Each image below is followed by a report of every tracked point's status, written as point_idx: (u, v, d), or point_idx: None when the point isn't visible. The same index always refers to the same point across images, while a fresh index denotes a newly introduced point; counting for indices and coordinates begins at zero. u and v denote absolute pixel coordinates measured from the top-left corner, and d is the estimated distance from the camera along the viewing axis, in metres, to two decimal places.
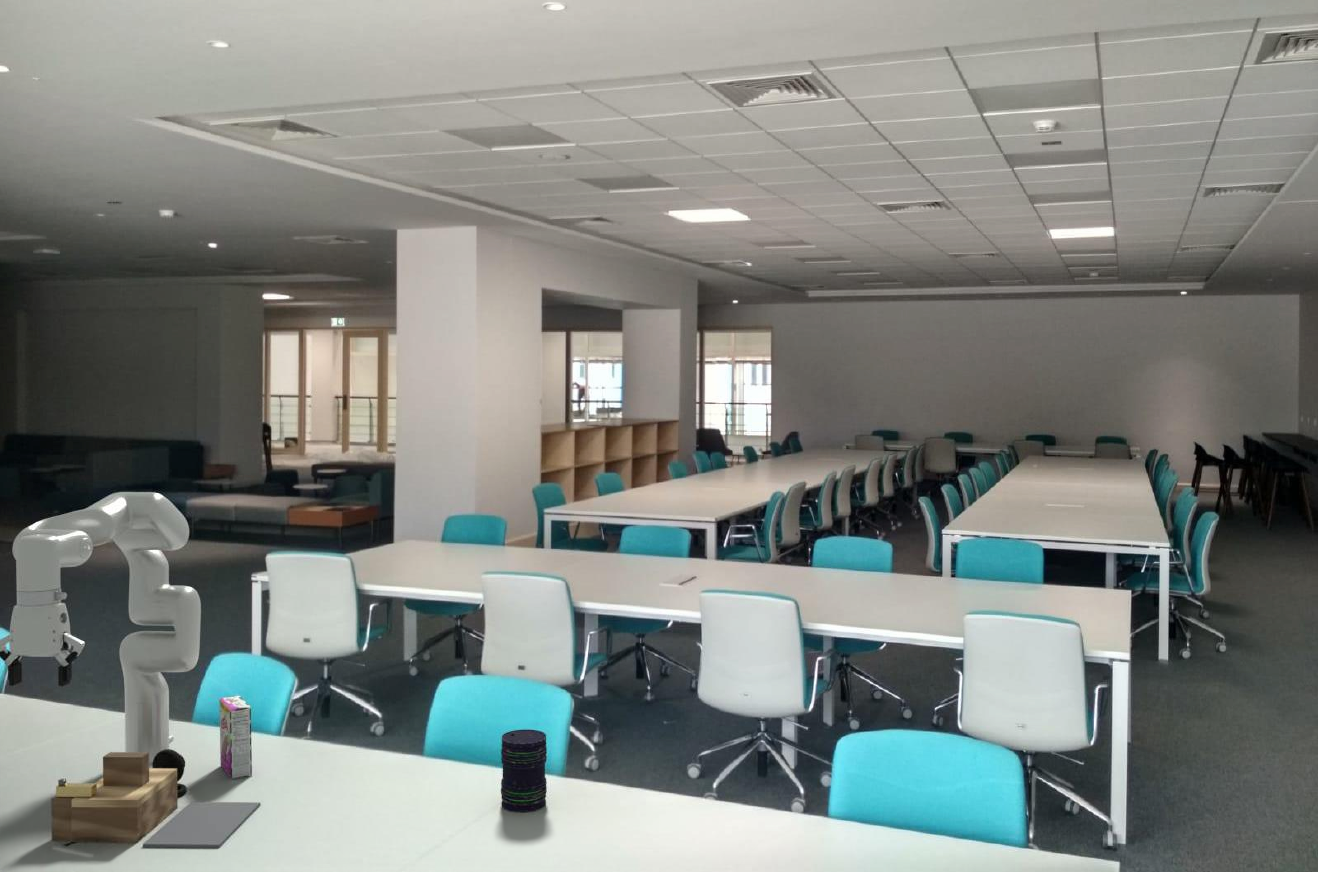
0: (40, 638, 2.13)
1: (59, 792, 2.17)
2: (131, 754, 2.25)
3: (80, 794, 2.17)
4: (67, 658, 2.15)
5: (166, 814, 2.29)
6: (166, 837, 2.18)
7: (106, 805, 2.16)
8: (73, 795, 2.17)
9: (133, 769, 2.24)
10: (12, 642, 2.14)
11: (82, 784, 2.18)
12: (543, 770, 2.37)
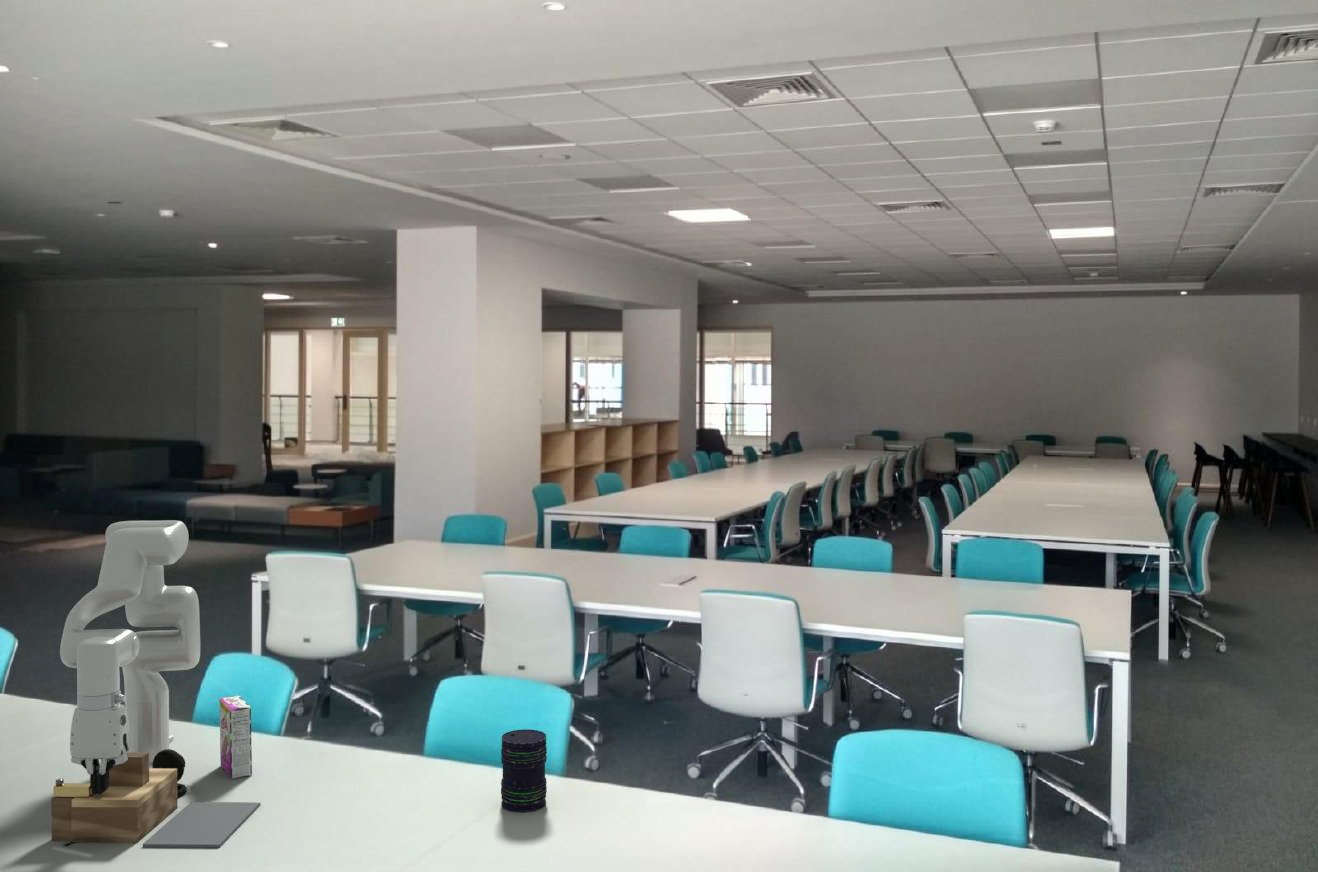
0: (100, 741, 2.15)
1: (57, 792, 2.17)
2: (131, 754, 2.25)
3: (77, 794, 2.17)
4: None
5: (166, 814, 2.29)
6: (166, 837, 2.18)
7: (106, 805, 2.16)
8: (70, 795, 2.17)
9: (133, 769, 2.24)
10: (73, 745, 2.16)
11: (79, 784, 2.18)
12: (543, 770, 2.37)
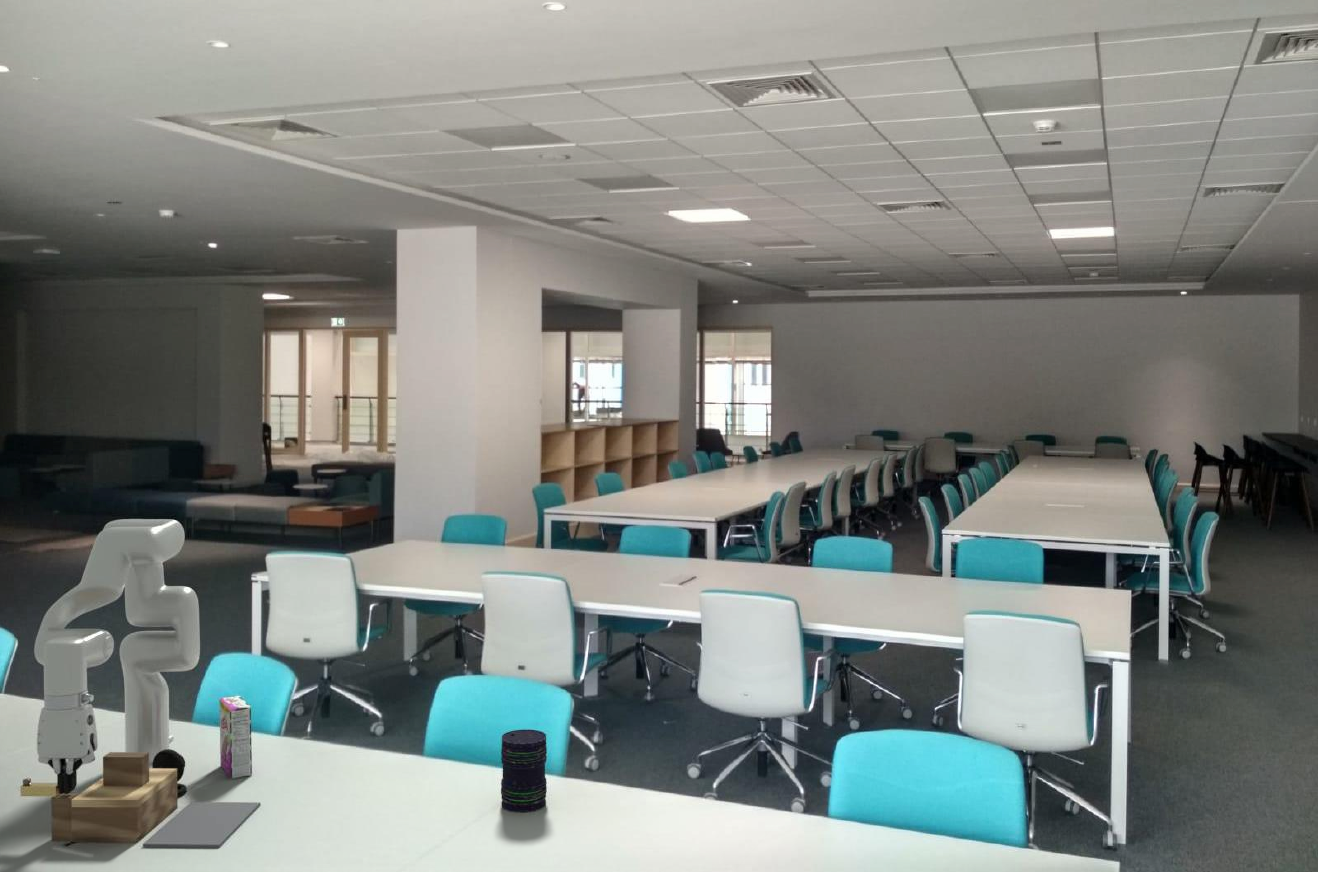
0: (67, 741, 2.15)
1: (24, 791, 2.17)
2: (131, 754, 2.25)
3: (44, 794, 2.17)
4: None
5: (166, 814, 2.29)
6: (166, 837, 2.18)
7: (106, 805, 2.16)
8: (37, 795, 2.17)
9: (133, 769, 2.24)
10: (39, 745, 2.16)
11: (47, 784, 2.18)
12: (543, 770, 2.37)
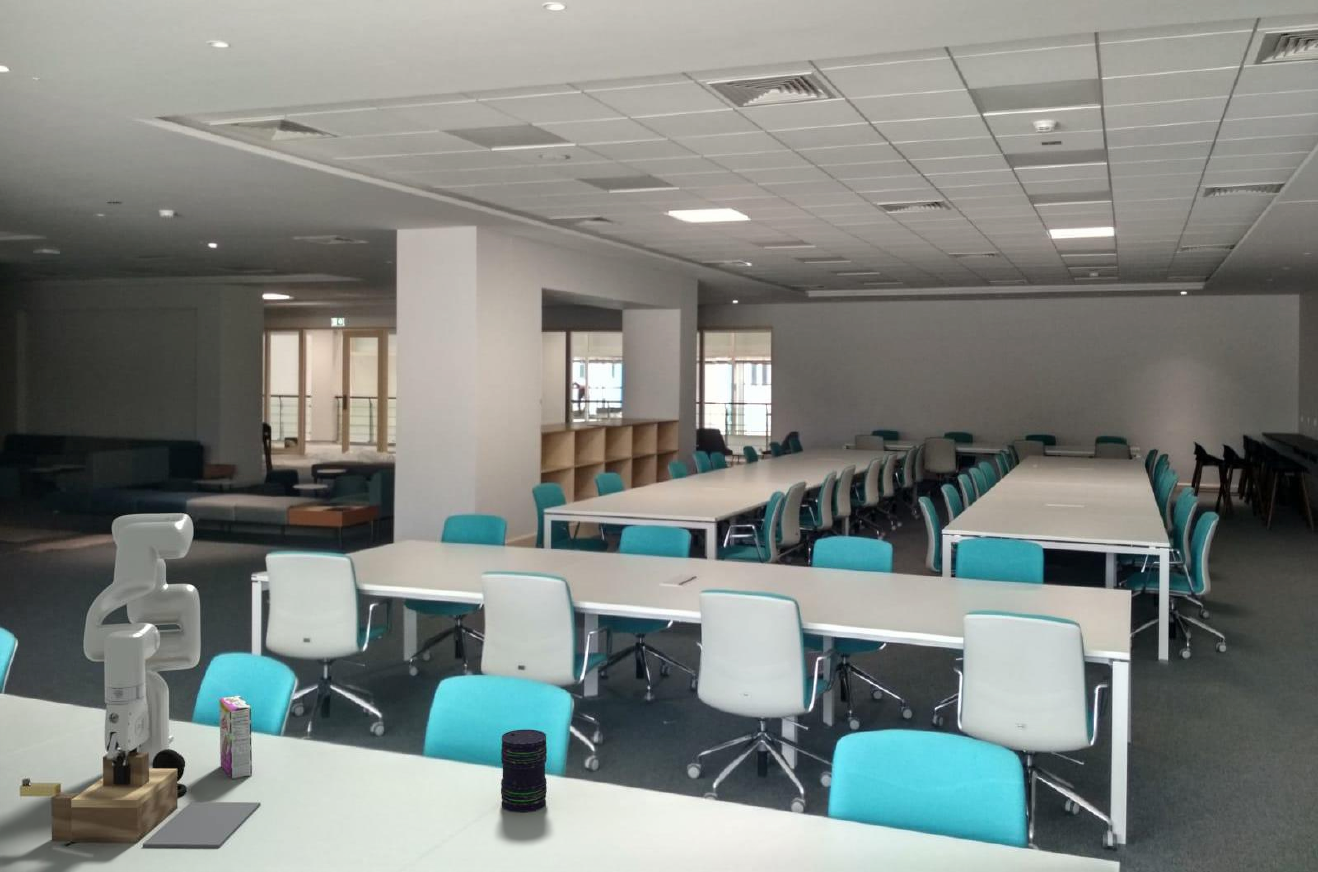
0: None
1: (23, 791, 2.17)
2: (131, 754, 2.25)
3: (43, 794, 2.17)
4: None
5: (166, 814, 2.29)
6: (166, 837, 2.18)
7: (106, 805, 2.16)
8: (37, 795, 2.17)
9: (133, 769, 2.23)
10: None
11: (46, 784, 2.18)
12: (543, 770, 2.37)
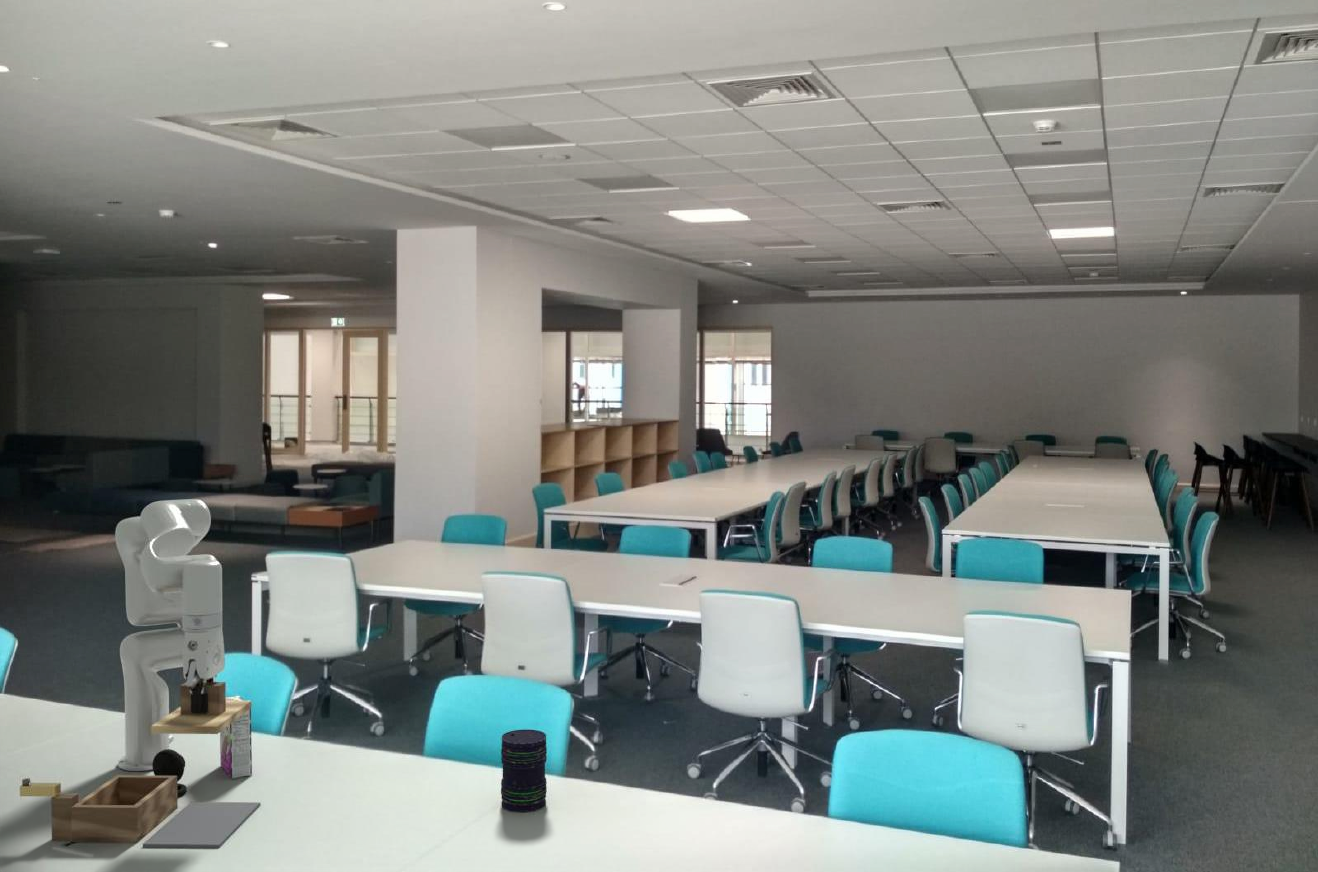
0: None
1: (23, 791, 2.17)
2: (208, 683, 2.24)
3: (43, 794, 2.17)
4: None
5: (166, 814, 2.29)
6: (166, 837, 2.18)
7: (186, 731, 2.16)
8: (37, 795, 2.17)
9: (211, 698, 2.23)
10: None
11: (46, 784, 2.18)
12: (543, 770, 2.37)
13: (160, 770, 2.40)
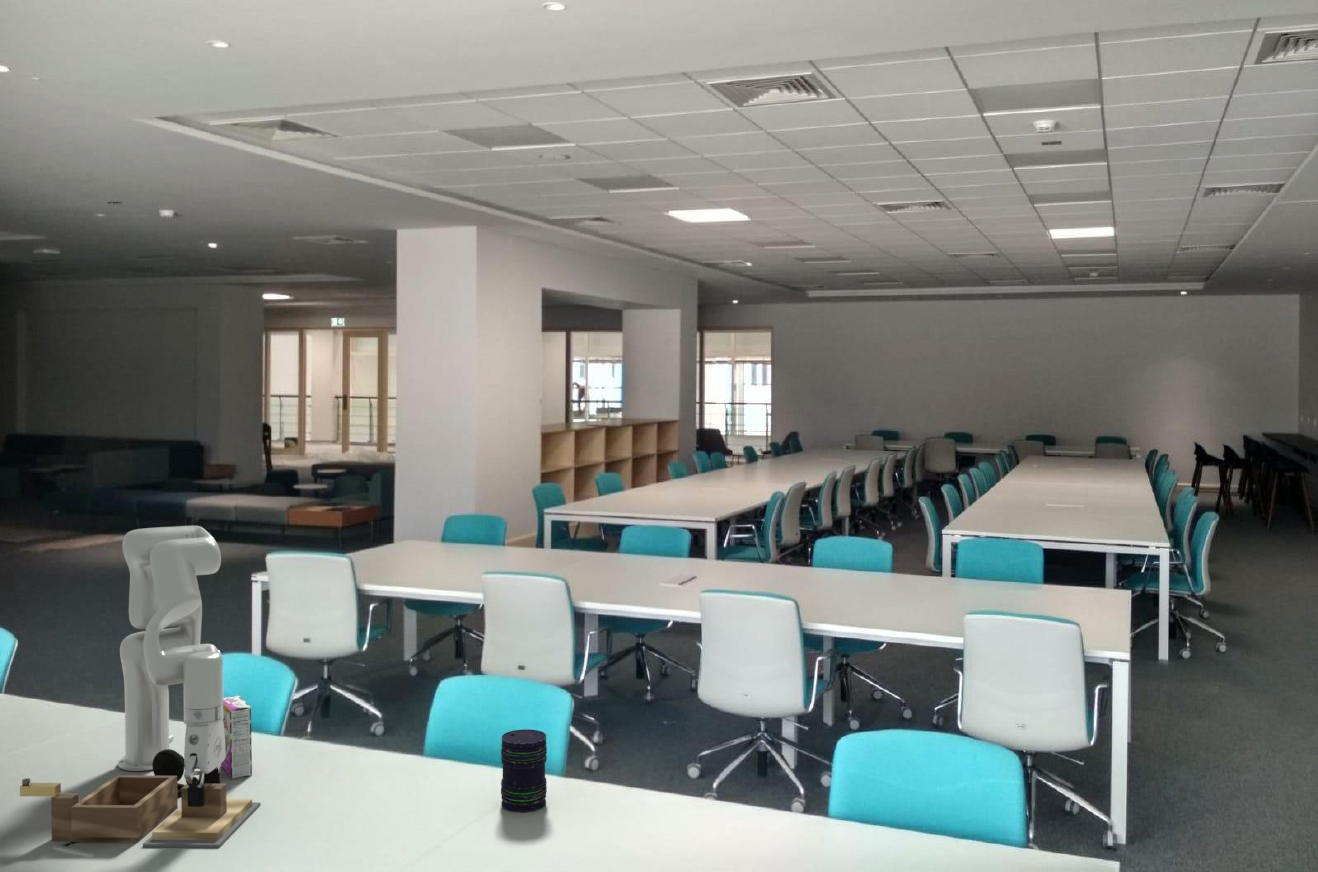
0: None
1: (23, 791, 2.17)
2: (209, 786, 2.25)
3: (43, 794, 2.17)
4: None
5: (166, 814, 2.29)
6: None
7: (186, 838, 2.16)
8: (37, 795, 2.17)
9: (212, 801, 2.24)
10: None
11: (46, 784, 2.18)
12: (543, 770, 2.37)
13: (160, 770, 2.40)
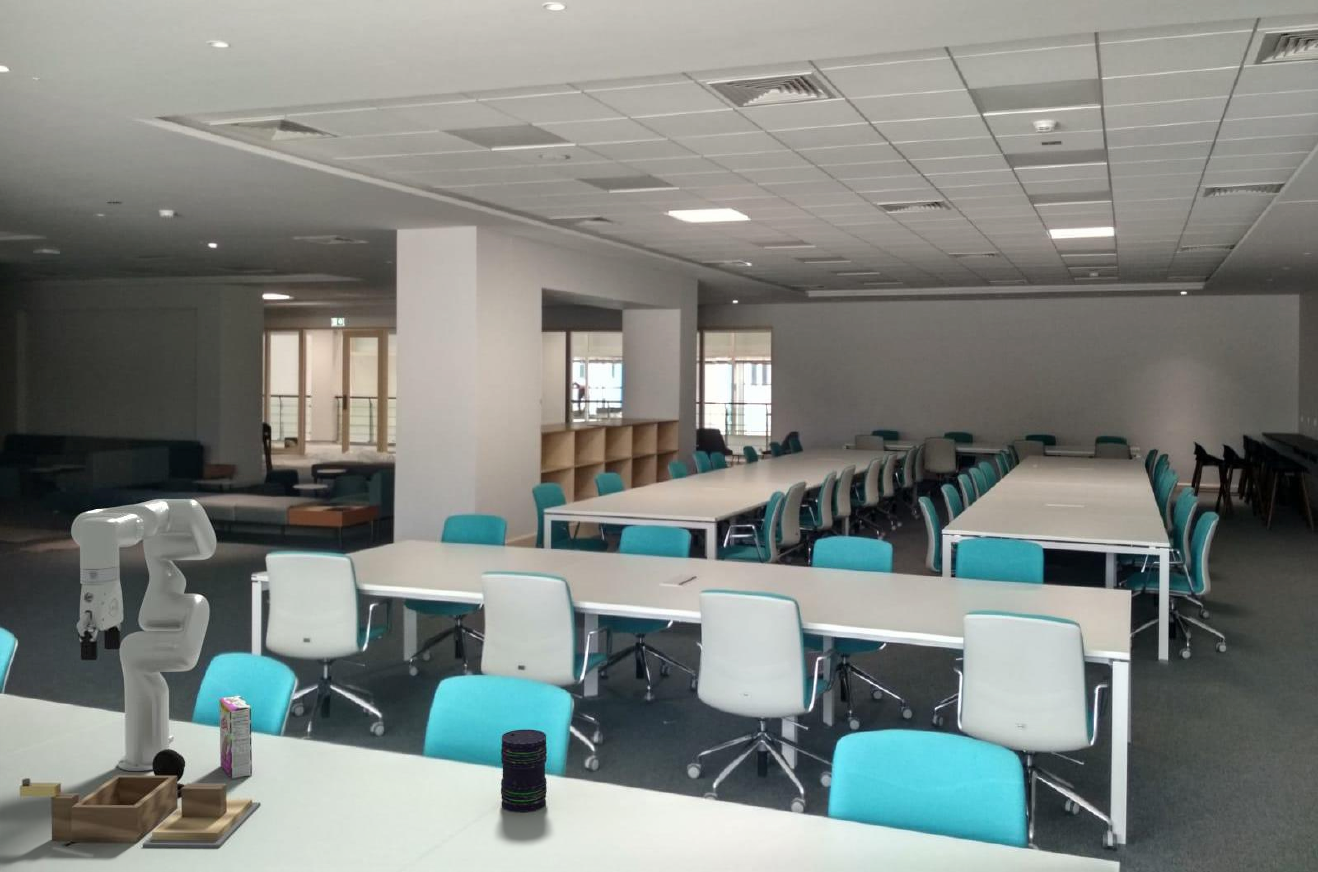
0: None
1: (23, 791, 2.17)
2: (209, 786, 2.25)
3: (43, 794, 2.17)
4: None
5: (166, 814, 2.29)
6: None
7: (186, 838, 2.16)
8: (37, 795, 2.17)
9: (212, 801, 2.24)
10: None
11: (46, 784, 2.18)
12: (543, 770, 2.37)
13: (160, 770, 2.40)
